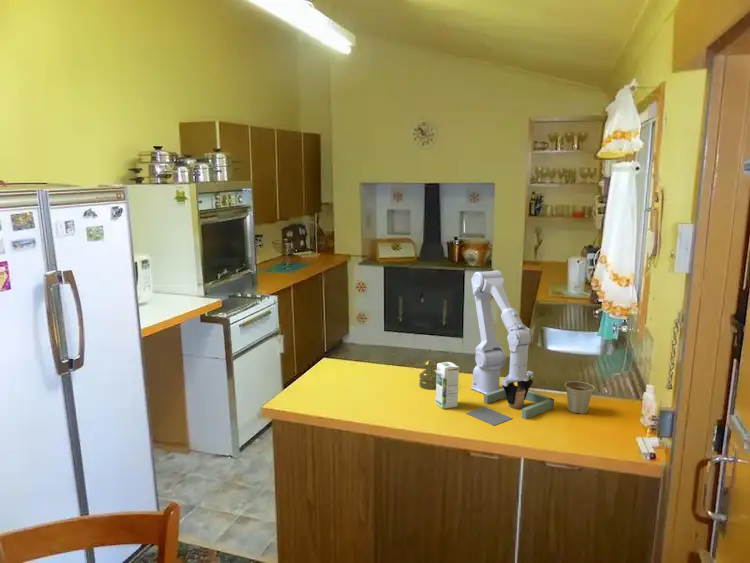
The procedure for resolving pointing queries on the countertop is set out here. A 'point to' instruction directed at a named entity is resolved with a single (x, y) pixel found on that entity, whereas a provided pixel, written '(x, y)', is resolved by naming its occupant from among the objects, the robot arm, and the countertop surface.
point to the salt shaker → (428, 376)
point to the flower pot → (578, 396)
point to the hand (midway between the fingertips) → (516, 401)
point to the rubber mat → (489, 416)
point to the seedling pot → (518, 399)
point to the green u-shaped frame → (540, 400)
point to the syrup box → (447, 385)
